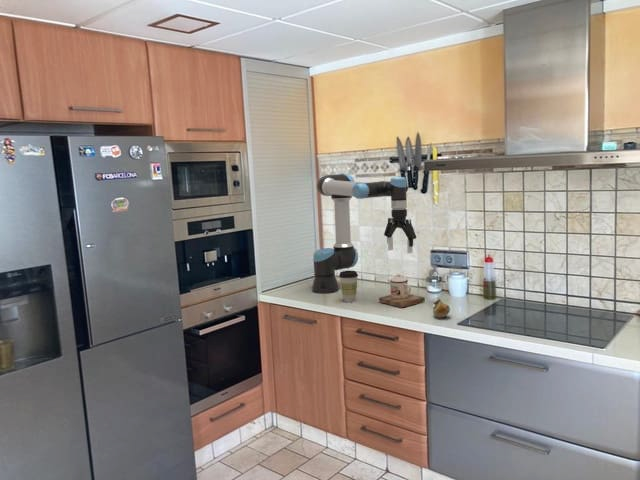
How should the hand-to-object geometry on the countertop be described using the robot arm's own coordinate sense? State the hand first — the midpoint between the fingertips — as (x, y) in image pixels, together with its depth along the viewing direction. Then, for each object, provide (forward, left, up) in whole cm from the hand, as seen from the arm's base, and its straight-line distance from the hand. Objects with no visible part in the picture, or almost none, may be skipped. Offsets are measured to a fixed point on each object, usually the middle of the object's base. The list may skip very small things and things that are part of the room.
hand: (400, 251), depth 261 cm
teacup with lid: (0, 0, -24) cm, 24 cm away
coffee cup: (-22, -16, -26) cm, 38 cm away
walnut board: (0, 0, -26) cm, 26 cm away
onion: (+31, -6, -26) cm, 41 cm away
